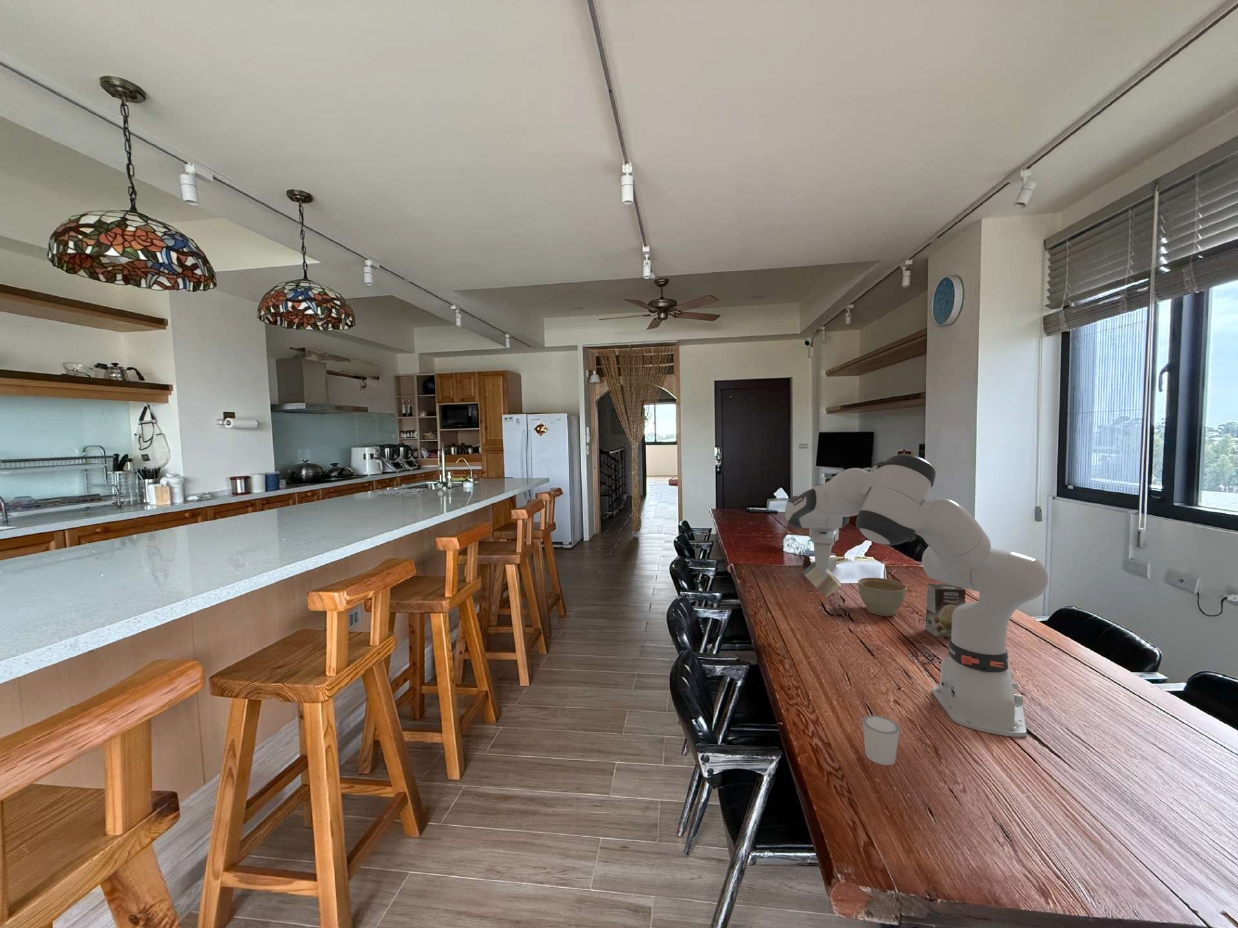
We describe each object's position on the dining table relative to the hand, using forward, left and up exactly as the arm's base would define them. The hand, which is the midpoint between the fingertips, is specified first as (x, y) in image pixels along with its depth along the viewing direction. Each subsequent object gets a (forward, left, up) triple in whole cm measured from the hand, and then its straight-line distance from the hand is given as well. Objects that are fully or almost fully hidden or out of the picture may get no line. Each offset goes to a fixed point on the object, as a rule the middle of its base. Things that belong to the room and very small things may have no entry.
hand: (823, 574), depth 163 cm
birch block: (0, -3, -5) cm, 6 cm away
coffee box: (+20, -37, -21) cm, 47 cm away
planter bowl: (+34, -19, -21) cm, 44 cm away
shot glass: (-60, -14, -21) cm, 65 cm away
